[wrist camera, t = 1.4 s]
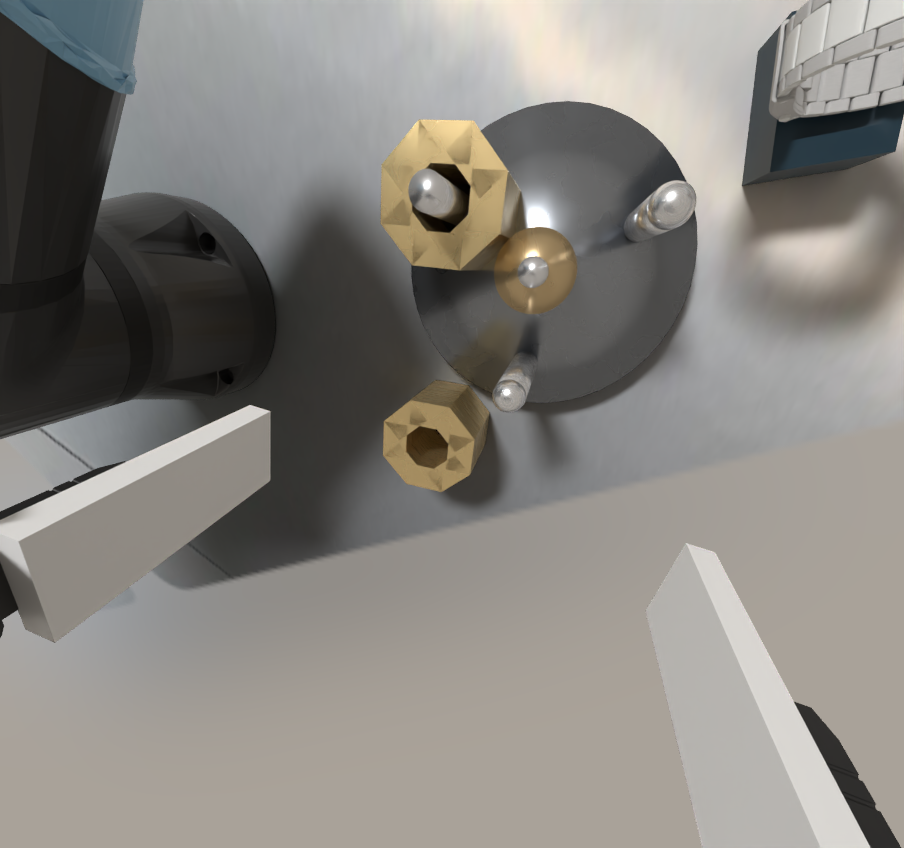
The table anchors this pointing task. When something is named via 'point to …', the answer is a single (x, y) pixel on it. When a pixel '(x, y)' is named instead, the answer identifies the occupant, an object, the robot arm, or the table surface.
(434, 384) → the planet gear
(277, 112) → the table surface
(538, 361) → the carrier
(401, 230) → the planet gear
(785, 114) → the watch
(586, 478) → the table surface
